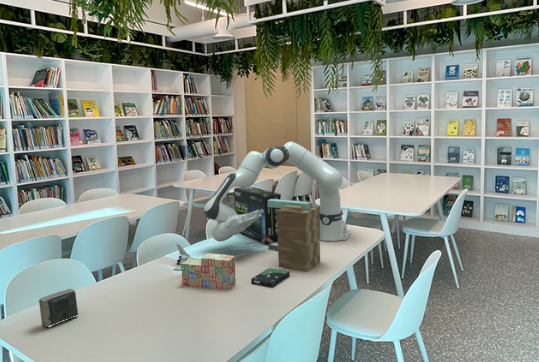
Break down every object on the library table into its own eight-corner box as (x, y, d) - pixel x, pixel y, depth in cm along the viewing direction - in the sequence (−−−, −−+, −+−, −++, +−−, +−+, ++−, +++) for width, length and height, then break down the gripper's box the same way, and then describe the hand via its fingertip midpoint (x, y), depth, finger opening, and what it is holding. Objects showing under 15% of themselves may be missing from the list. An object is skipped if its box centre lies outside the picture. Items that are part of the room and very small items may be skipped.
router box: (234, 231, 259) (232, 187, 255) (250, 228, 265) (249, 185, 261) (266, 245, 229) (264, 195, 225) (283, 242, 235) (282, 193, 231)
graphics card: (267, 244, 221) (294, 233, 241) (268, 251, 222) (294, 239, 242) (284, 247, 215) (310, 235, 235) (284, 254, 216) (310, 241, 236)
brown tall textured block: (293, 257, 208) (291, 200, 204) (321, 262, 201) (320, 202, 197) (277, 266, 196) (276, 206, 192) (306, 272, 188) (305, 208, 184)
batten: (272, 205, 204) (272, 198, 204) (310, 208, 194) (310, 202, 193) (267, 206, 201) (267, 200, 200) (306, 210, 190) (306, 203, 190)
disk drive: (273, 289, 172) (290, 276, 185) (272, 282, 172) (289, 270, 184) (250, 285, 177) (269, 273, 190) (250, 278, 177) (268, 267, 190)
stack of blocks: (182, 285, 178) (180, 256, 176) (189, 279, 184) (187, 251, 182) (230, 290, 172) (228, 260, 170) (236, 284, 178) (234, 255, 176)
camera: (72, 313, 155) (70, 286, 153) (80, 317, 151) (78, 290, 150) (39, 325, 146) (36, 297, 145) (47, 330, 142) (43, 301, 141)
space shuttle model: (214, 276, 188) (213, 254, 186) (167, 270, 198) (165, 248, 197) (231, 265, 202) (230, 244, 200) (187, 259, 212) (185, 239, 211)
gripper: (221, 222, 206) (241, 210, 199) (245, 214, 223) (265, 202, 216) (226, 234, 205) (247, 223, 198) (251, 225, 222) (270, 214, 215)
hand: (256, 212), depth 207 cm, fingers open, 8 cm apart
